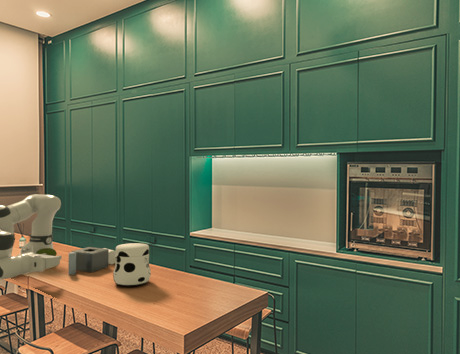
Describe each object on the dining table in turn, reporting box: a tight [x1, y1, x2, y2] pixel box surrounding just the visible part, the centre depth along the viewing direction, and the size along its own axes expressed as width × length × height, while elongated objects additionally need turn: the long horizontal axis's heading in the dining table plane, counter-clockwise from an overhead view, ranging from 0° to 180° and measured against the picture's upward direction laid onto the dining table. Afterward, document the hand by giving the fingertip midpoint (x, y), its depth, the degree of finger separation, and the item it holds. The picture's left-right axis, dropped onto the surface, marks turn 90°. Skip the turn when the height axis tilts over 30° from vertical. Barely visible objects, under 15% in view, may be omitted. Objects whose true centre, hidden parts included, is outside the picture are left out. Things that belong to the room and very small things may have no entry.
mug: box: [103, 247, 116, 265], centre depth 215 cm, size 12×10×8 cm
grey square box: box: [71, 246, 109, 273], centre depth 201 cm, size 14×13×10 cm
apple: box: [36, 248, 58, 256], centre depth 206 cm, size 11×10×10 cm
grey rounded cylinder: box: [67, 251, 77, 276], centre depth 189 cm, size 4×4×11 cm
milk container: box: [112, 242, 152, 288], centre depth 174 cm, size 17×17×18 cm
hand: (53, 256), depth 177 cm, fingers open, 8 cm apart
